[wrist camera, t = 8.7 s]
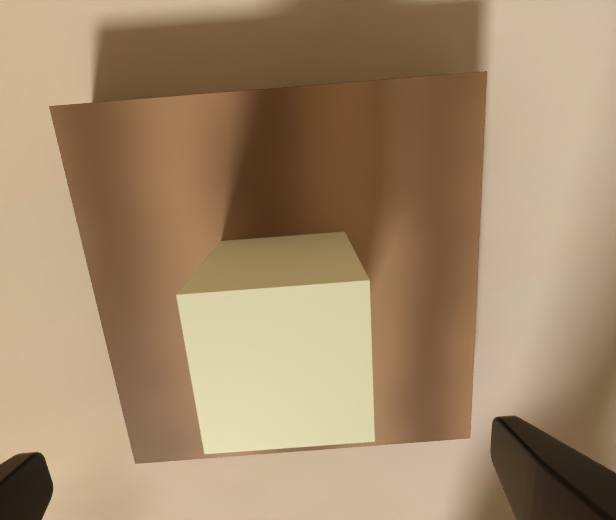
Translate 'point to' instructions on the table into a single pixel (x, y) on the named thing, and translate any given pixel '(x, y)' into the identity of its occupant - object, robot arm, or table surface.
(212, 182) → the walnut base
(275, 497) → the table surface
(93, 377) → the table surface
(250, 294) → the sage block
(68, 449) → the table surface
